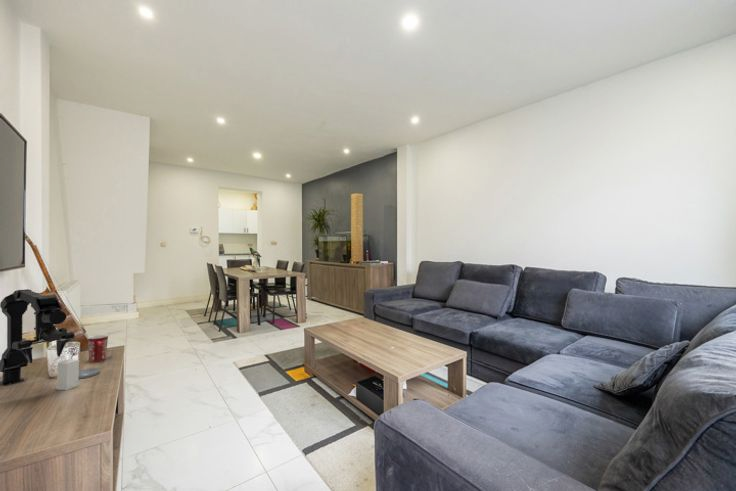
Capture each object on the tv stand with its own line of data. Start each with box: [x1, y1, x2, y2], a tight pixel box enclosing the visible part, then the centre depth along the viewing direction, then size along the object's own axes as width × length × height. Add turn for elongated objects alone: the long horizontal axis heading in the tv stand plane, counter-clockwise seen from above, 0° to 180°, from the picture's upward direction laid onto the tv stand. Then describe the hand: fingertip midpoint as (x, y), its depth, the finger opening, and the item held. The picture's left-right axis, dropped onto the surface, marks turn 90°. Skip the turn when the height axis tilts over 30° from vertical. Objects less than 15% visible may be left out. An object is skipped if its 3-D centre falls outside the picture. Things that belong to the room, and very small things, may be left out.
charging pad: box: [78, 367, 100, 380], centre depth 154 cm, size 11×11×1 cm
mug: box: [87, 334, 109, 363], centre depth 174 cm, size 13×9×14 cm
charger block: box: [56, 358, 80, 391], centre depth 141 cm, size 5×5×12 cm
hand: (45, 359), depth 135 cm, fingers open, 9 cm apart
